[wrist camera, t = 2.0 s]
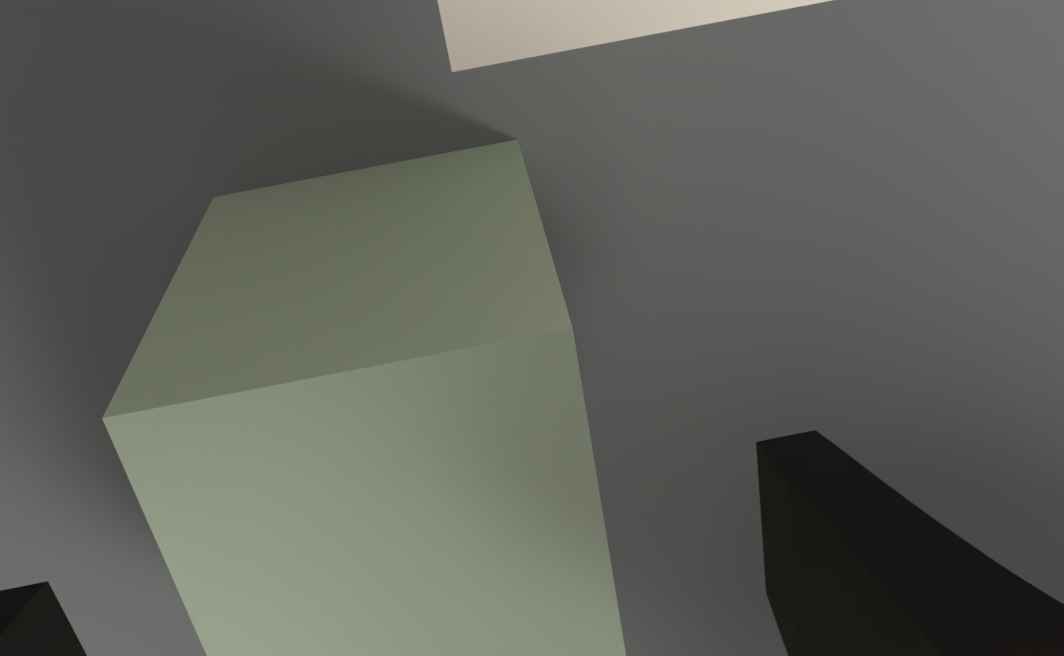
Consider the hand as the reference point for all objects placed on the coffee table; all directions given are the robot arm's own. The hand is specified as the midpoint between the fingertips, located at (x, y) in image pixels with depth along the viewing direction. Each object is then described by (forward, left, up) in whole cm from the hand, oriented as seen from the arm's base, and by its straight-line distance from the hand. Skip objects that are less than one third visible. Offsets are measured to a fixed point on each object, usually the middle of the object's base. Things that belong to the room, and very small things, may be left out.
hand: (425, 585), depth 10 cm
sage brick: (0, 0, -3) cm, 3 cm away
